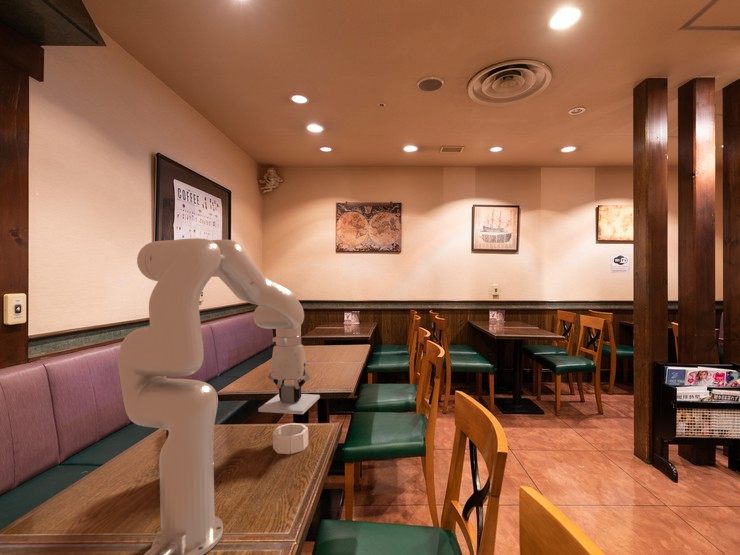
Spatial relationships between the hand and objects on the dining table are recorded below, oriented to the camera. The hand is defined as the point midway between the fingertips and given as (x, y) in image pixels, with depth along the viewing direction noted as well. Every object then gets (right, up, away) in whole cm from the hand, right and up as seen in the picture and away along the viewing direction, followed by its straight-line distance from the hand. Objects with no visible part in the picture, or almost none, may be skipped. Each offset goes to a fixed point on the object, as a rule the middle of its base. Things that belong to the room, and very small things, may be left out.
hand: (290, 399), depth 110 cm
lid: (0, -1, 0) cm, 1 cm away
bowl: (0, -14, 0) cm, 14 cm away
